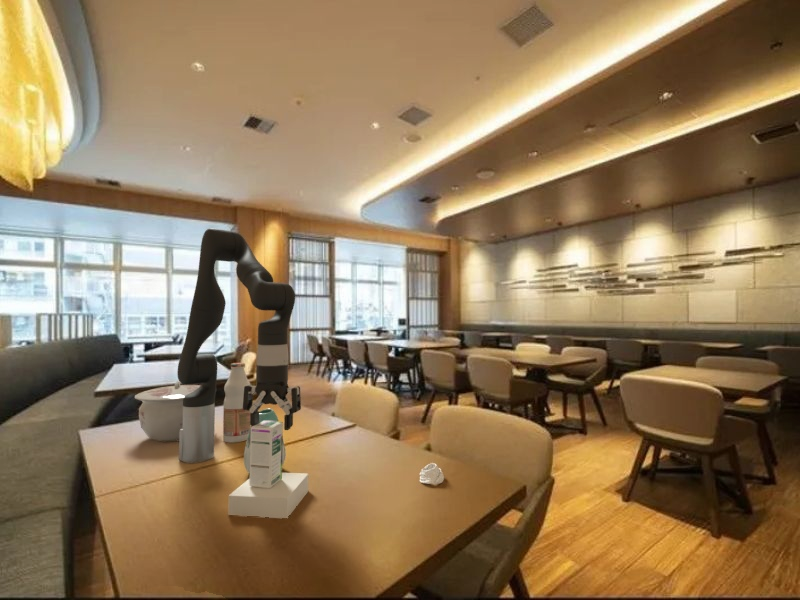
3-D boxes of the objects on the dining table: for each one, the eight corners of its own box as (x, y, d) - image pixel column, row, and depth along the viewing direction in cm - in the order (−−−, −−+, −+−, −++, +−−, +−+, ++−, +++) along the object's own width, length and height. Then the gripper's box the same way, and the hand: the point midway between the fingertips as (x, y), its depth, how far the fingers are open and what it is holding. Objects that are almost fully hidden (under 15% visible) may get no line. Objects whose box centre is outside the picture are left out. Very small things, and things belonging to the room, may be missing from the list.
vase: (245, 483, 107) (246, 417, 108) (241, 469, 117) (242, 408, 118) (289, 475, 112) (289, 412, 113) (281, 462, 123) (281, 404, 123)
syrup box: (270, 489, 93) (272, 427, 94) (247, 486, 94) (250, 425, 95) (282, 479, 99) (284, 421, 99) (260, 476, 100) (263, 419, 100)
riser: (228, 517, 90) (228, 495, 90) (257, 490, 104) (257, 471, 104) (287, 520, 88) (287, 498, 89) (308, 493, 102) (308, 473, 102)
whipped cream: (439, 492, 104) (440, 474, 103) (415, 486, 106) (416, 469, 105) (445, 478, 111) (446, 461, 111) (422, 473, 113) (423, 456, 113)
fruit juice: (220, 444, 140) (221, 365, 141) (226, 436, 149) (227, 362, 150) (248, 442, 142) (249, 364, 143) (252, 434, 151) (253, 361, 152)
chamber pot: (157, 453, 131) (158, 391, 132) (118, 440, 145) (120, 383, 146) (232, 432, 155) (232, 379, 155) (192, 422, 169) (193, 374, 170)
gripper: (237, 363, 95) (236, 431, 94) (292, 365, 93) (291, 434, 92) (254, 360, 102) (253, 422, 102) (305, 361, 100) (304, 425, 99)
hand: (271, 428), depth 97 cm, fingers open, 8 cm apart
